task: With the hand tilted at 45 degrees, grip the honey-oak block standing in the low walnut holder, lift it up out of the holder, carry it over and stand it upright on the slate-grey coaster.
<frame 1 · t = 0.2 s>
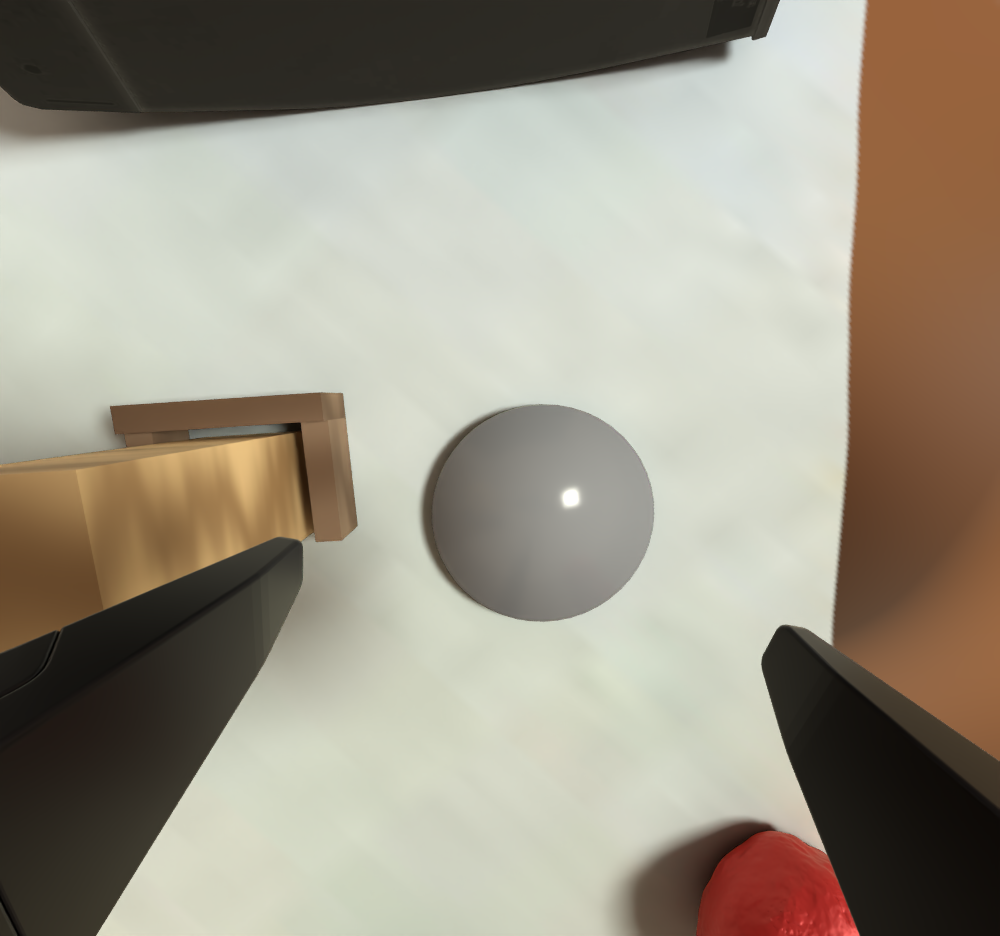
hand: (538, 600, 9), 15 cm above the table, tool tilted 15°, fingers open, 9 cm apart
magazine: (409, 68, 21), on the table
oak block: (176, 514, 17), in the holder
pomegranate: (760, 881, 28), on the table
holder: (262, 483, 24), on the table
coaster: (541, 512, 24), on the table
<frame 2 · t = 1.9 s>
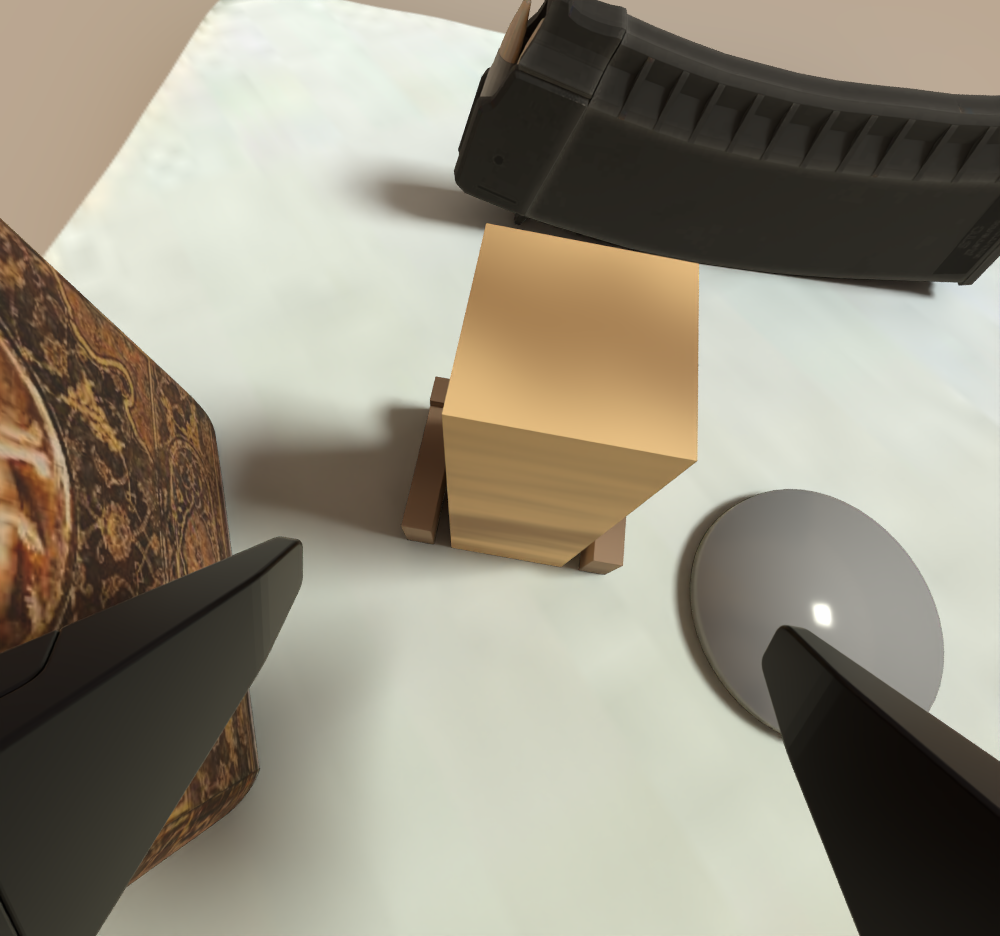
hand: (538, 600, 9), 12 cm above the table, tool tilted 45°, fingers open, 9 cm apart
book: (169, 608, 19), on the table
magazine: (703, 249, 29), on the table
oak block: (535, 450, 16), in the holder
holder: (514, 504, 22), on the table
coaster: (808, 609, 21), on the table
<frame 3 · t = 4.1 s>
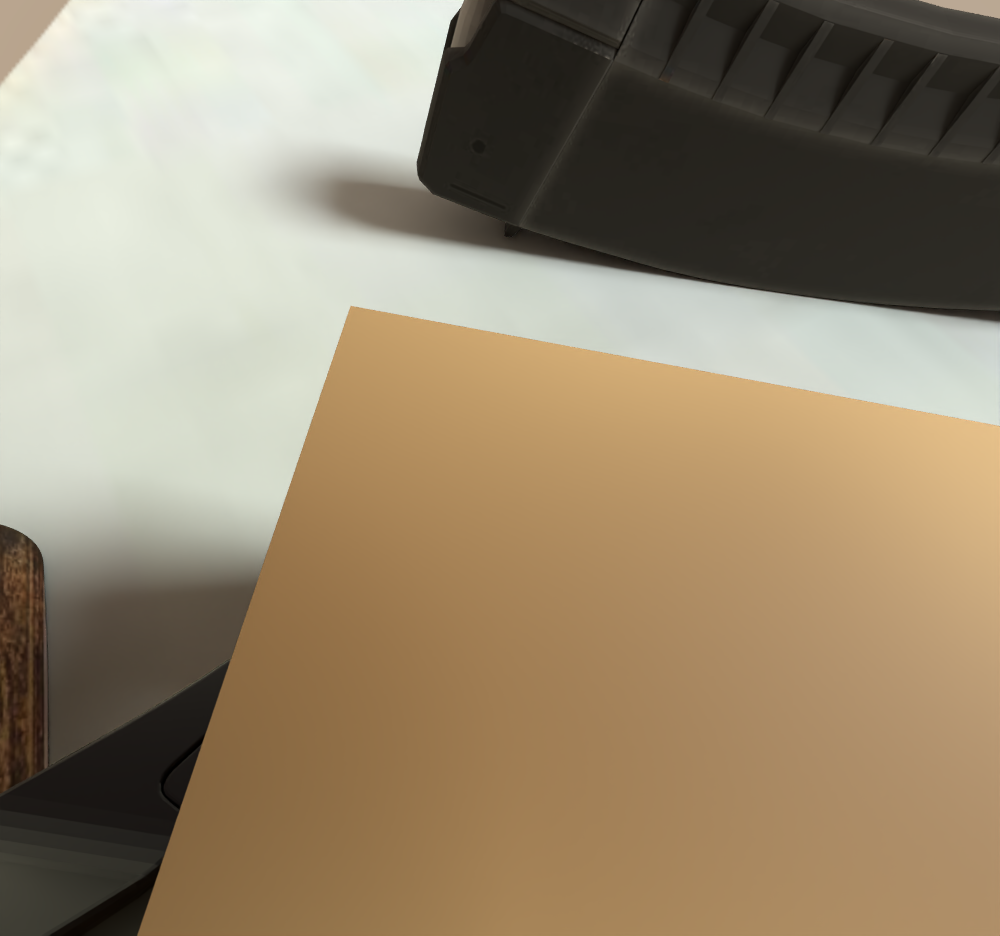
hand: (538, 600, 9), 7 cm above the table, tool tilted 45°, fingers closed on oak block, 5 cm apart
magazine: (758, 269, 22), on the table
oak block: (526, 680, 9), in the holder, touching gripper
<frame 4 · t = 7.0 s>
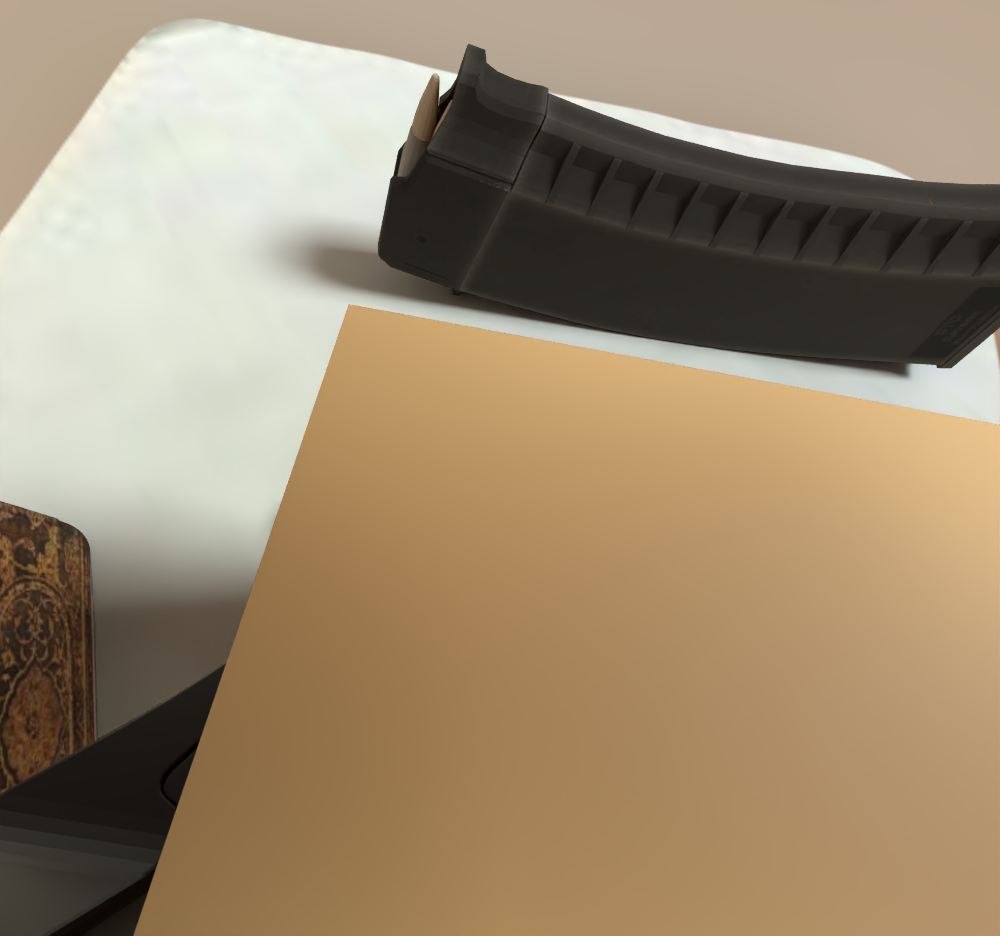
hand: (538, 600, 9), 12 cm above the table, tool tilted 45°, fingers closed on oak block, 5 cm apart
book: (20, 760, 17), on the table
magazine: (660, 321, 27), on the table
oak block: (525, 679, 9), point 12 cm above the table, touching gripper
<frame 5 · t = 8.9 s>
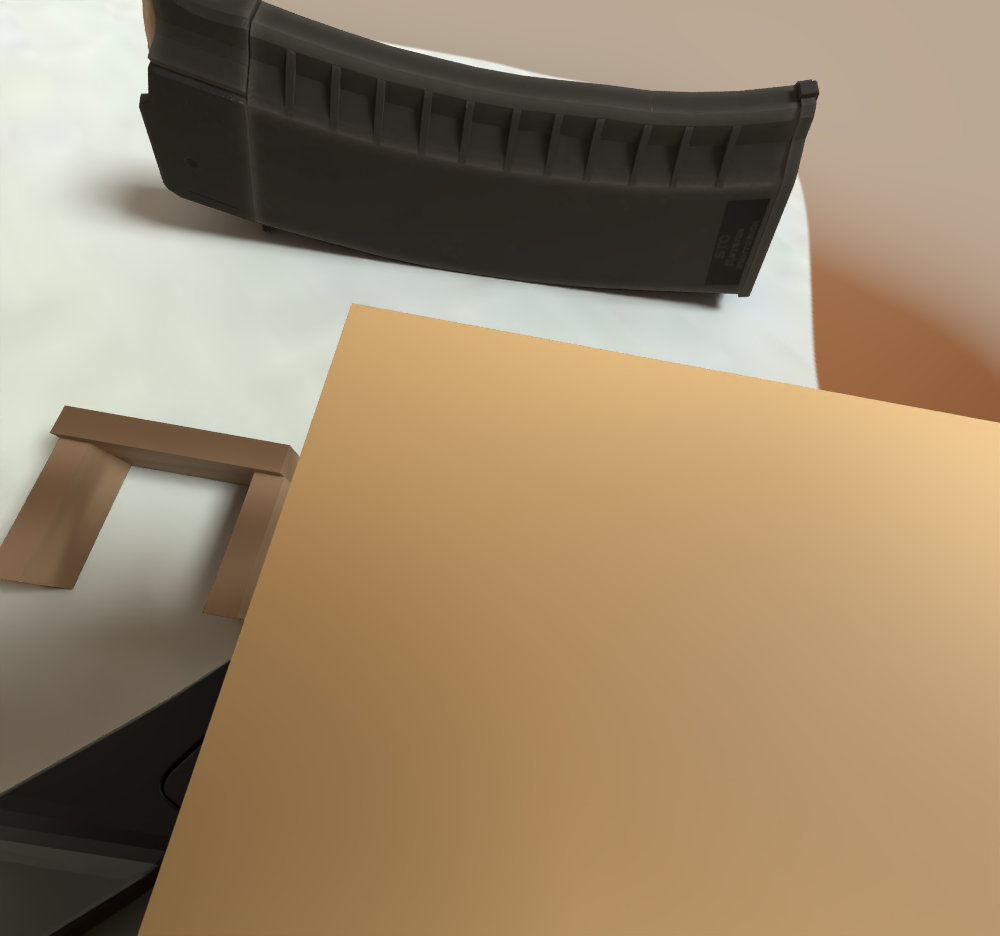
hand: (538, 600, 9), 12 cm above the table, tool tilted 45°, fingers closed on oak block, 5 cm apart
magazine: (474, 258, 27), on the table
oak block: (526, 679, 9), point 12 cm above the table, touching gripper
holder: (177, 543, 20), on the table
when the fingers open (8 cm above the table, at t = 10.3 s): oak block stays where it is, resting on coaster.
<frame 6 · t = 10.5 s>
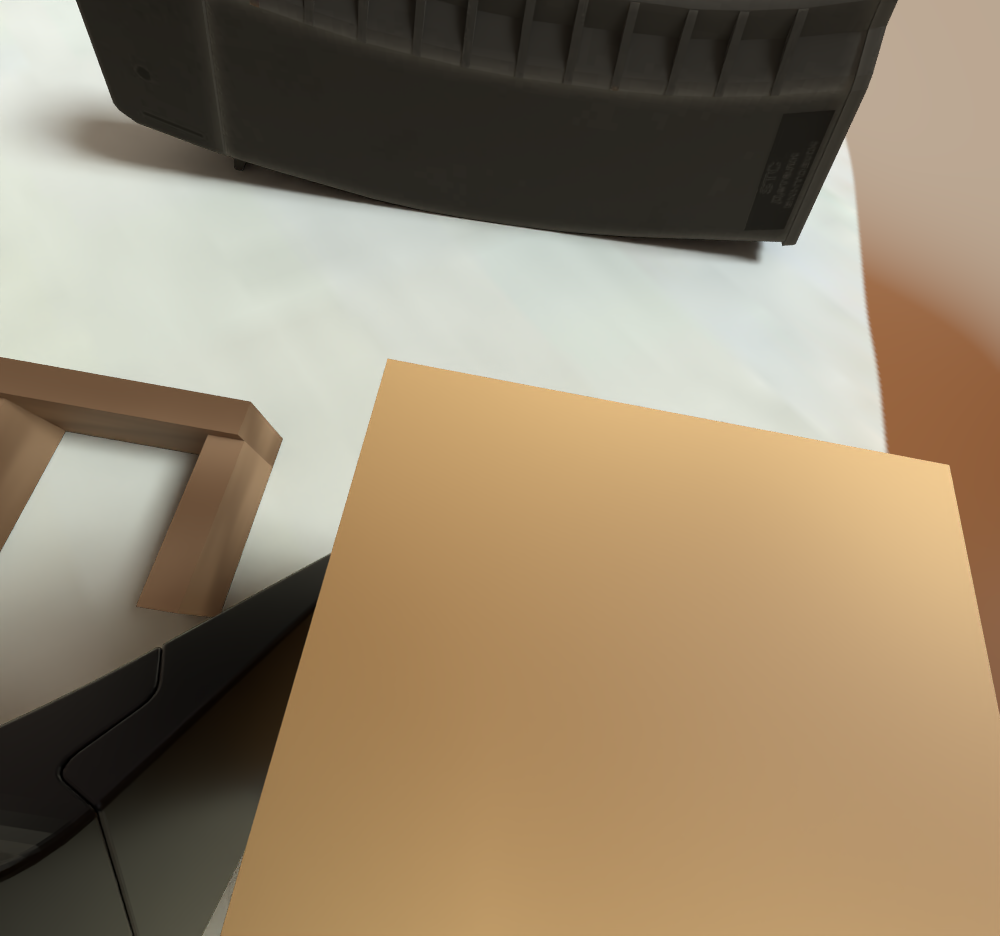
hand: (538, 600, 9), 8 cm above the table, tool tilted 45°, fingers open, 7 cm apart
magazine: (478, 203, 24), on the table
oak block: (525, 676, 9), on the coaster, point 7 cm above the table
holder: (118, 523, 17), on the table
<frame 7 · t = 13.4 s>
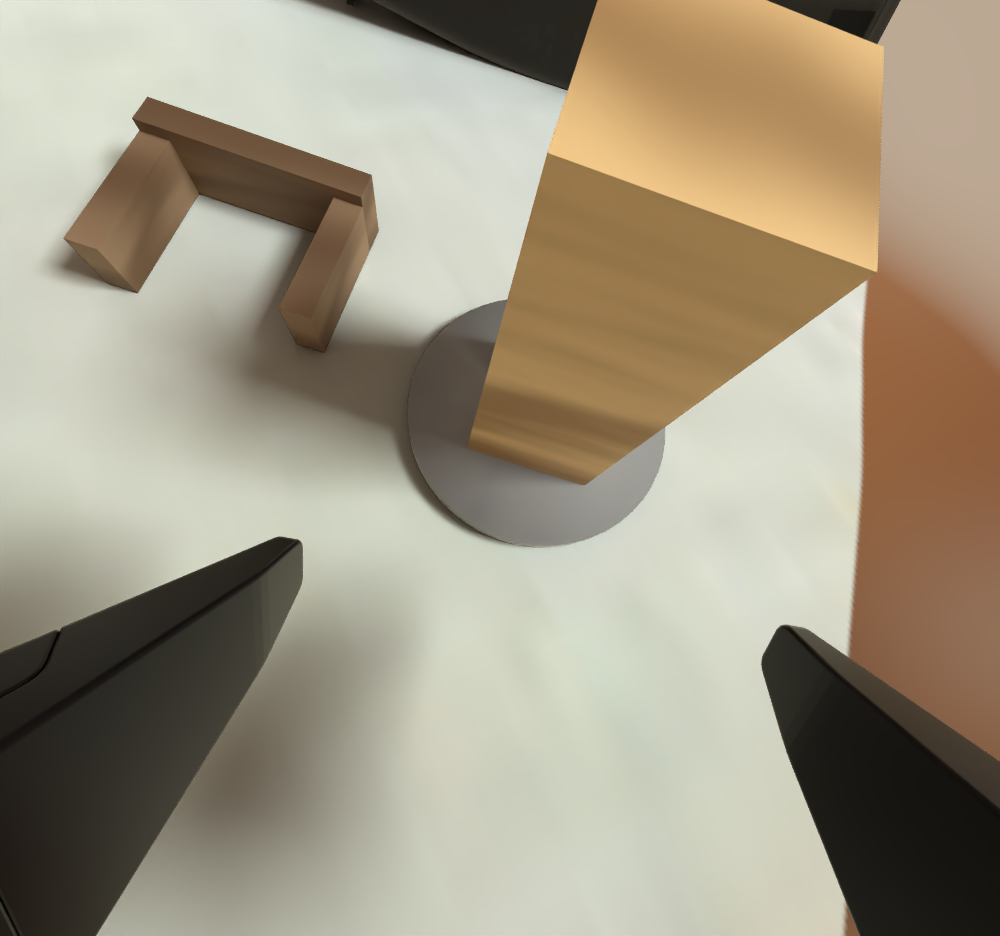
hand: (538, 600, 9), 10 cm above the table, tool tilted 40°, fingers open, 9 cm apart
magazine: (556, 73, 27), on the table
oak block: (594, 325, 14), on the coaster, point 7 cm above the table
holder: (243, 270, 20), on the table
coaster: (536, 419, 20), on the table
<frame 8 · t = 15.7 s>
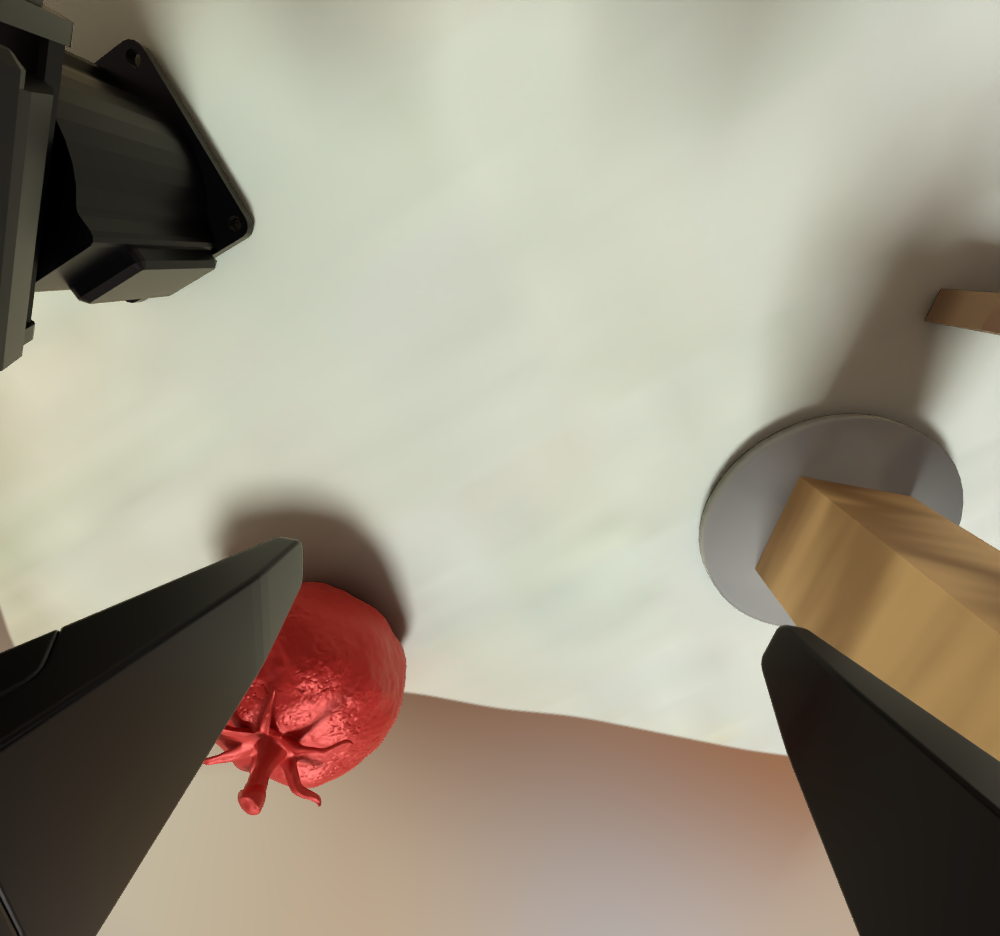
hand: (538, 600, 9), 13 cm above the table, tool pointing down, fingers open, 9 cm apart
oak block: (944, 638, 16), on the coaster, point 7 cm above the table
pomegranate: (330, 628, 27), on the table
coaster: (819, 525, 22), on the table
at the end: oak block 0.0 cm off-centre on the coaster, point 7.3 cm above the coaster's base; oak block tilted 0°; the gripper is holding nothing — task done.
